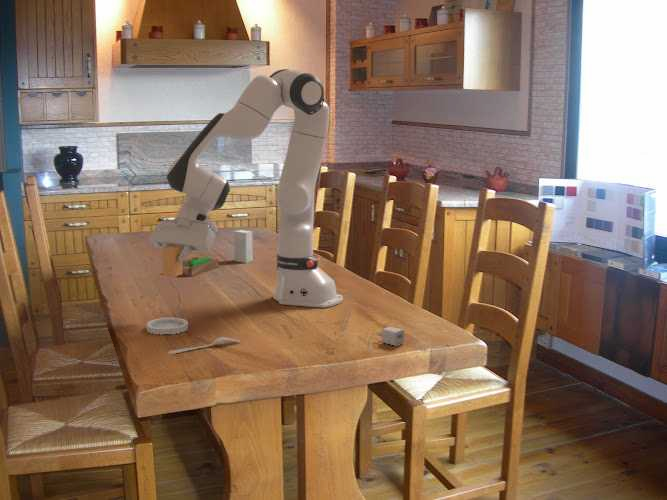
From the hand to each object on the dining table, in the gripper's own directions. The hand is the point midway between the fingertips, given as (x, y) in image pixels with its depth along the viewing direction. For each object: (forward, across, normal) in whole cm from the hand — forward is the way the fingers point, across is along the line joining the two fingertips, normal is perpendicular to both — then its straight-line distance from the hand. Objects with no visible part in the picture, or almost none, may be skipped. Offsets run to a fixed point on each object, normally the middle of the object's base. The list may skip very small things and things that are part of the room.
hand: (171, 259), depth 224 cm
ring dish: (+19, +6, +5) cm, 21 cm away
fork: (+26, +24, -1) cm, 36 cm away
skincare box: (-41, -22, +66) cm, 81 cm away
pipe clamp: (-25, -28, +50) cm, 62 cm away
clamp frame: (-26, -30, +50) cm, 64 cm away
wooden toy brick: (+3, 0, +4) cm, 5 cm away
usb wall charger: (+8, +65, +17) cm, 68 cm away
